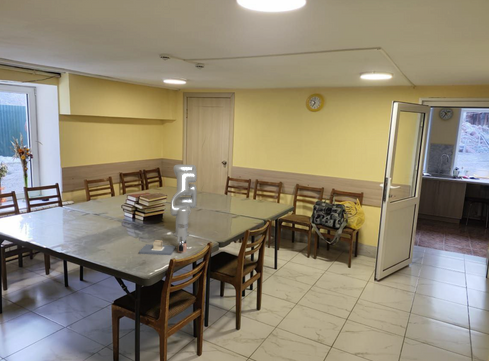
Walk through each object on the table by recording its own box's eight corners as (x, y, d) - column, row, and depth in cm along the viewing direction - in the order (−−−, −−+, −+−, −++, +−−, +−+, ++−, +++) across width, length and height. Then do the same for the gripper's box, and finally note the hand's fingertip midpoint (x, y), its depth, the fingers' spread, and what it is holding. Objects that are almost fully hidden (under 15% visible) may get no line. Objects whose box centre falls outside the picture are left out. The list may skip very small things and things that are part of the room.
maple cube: (155, 247, 239) (155, 240, 238) (162, 247, 239) (162, 240, 238) (153, 249, 234) (153, 242, 233) (160, 249, 234) (160, 242, 233)
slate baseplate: (146, 246, 244) (146, 244, 244) (176, 247, 244) (176, 245, 244) (138, 253, 230) (138, 251, 229) (170, 255, 229) (170, 252, 229)
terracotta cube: (179, 249, 240) (179, 243, 240) (186, 250, 240) (186, 243, 239) (178, 252, 235) (178, 245, 235) (185, 252, 235) (185, 245, 234)
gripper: (180, 222, 244) (179, 244, 246) (174, 228, 227) (174, 253, 229) (190, 222, 244) (190, 245, 246) (185, 229, 226) (185, 253, 229)
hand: (182, 249), depth 237 cm, fingers open, 9 cm apart
